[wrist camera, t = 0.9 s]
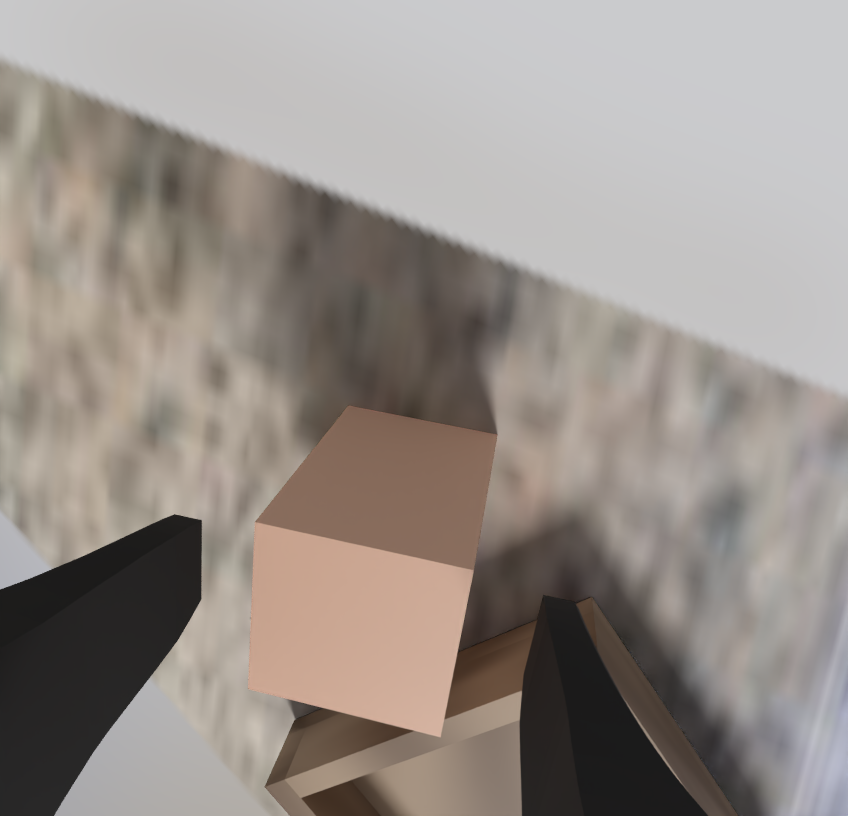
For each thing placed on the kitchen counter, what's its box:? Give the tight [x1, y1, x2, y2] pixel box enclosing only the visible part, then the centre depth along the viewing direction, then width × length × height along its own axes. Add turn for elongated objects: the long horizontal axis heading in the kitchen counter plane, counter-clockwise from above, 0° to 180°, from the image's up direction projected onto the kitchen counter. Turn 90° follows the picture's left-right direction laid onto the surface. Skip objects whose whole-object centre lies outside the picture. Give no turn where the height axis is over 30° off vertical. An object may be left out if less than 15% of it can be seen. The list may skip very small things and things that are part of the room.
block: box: [248, 405, 497, 737], centre depth 15 cm, size 4×4×6 cm
